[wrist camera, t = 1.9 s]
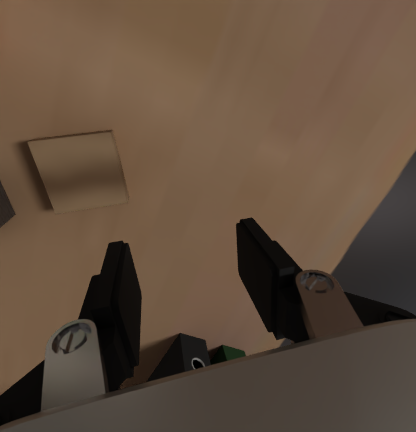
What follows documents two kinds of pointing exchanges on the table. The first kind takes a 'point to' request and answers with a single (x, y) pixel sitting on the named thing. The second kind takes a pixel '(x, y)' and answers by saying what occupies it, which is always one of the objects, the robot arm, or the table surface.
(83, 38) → the table surface
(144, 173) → the table surface
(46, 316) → the table surface
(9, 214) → the gray rectangular block
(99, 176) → the board
